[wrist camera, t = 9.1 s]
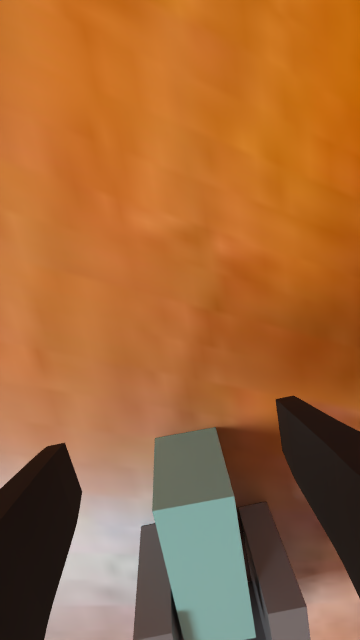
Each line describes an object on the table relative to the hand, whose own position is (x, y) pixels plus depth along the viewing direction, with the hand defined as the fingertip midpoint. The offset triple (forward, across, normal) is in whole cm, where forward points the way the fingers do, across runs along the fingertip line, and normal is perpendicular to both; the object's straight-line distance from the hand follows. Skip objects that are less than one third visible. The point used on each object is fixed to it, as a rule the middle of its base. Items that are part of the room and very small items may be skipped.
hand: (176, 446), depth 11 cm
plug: (+9, 0, +11) cm, 14 cm away
